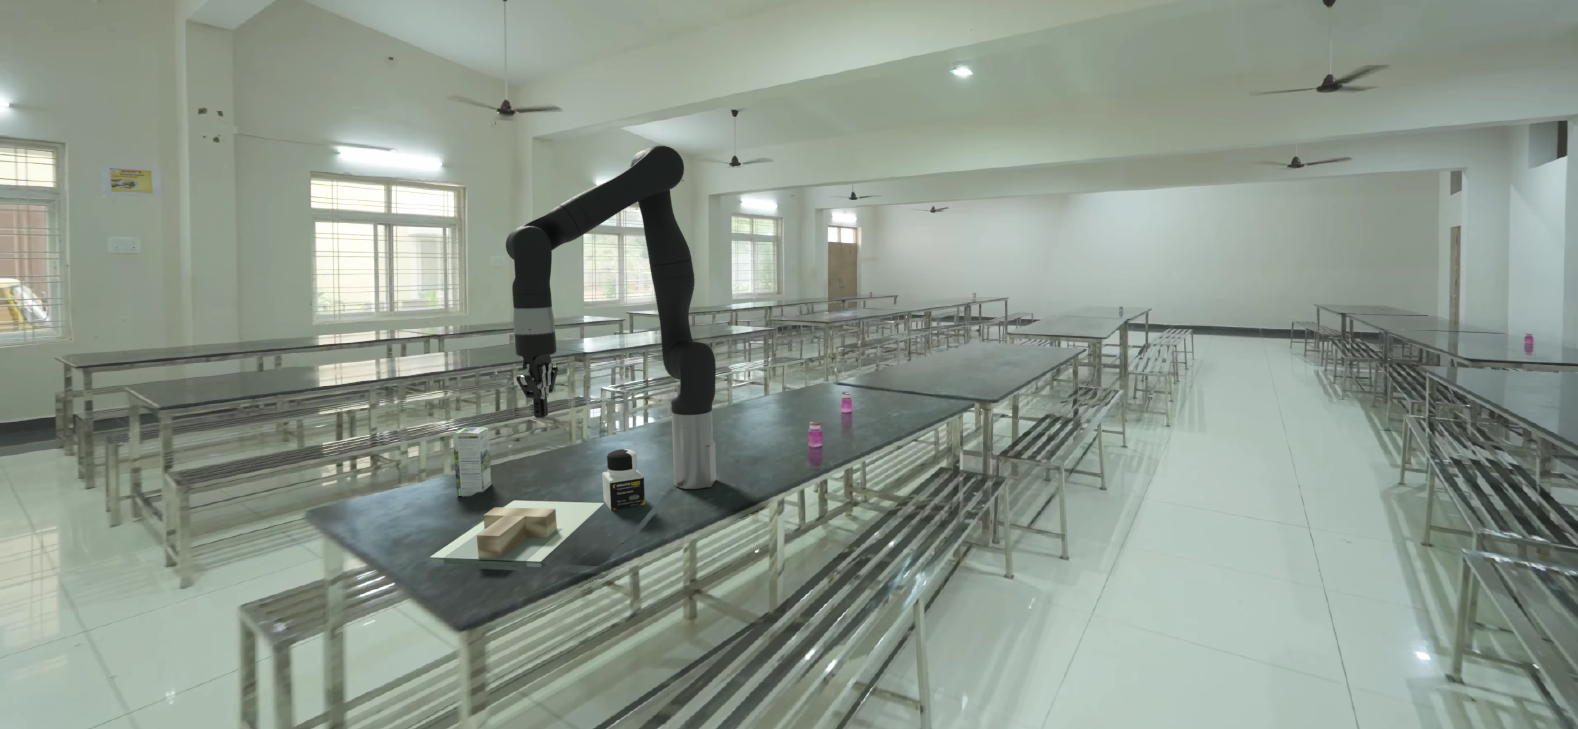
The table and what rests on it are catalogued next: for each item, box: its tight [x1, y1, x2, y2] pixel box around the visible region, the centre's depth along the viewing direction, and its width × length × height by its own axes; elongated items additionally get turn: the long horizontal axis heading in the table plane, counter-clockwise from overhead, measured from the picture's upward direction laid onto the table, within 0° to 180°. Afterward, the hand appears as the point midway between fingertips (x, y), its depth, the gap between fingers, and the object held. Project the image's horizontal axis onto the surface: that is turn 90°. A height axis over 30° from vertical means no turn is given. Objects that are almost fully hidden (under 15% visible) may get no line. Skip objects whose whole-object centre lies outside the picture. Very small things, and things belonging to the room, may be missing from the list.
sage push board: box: [429, 499, 605, 568], centre depth 127 cm, size 20×28×1 cm
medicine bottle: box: [601, 448, 646, 511], centre depth 139 cm, size 7×7×12 cm
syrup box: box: [452, 426, 493, 497], centre depth 149 cm, size 6×6×14 cm
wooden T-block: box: [477, 506, 557, 558], centre depth 120 cm, size 12×13×4 cm
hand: (541, 416), depth 133 cm, fingers closed
